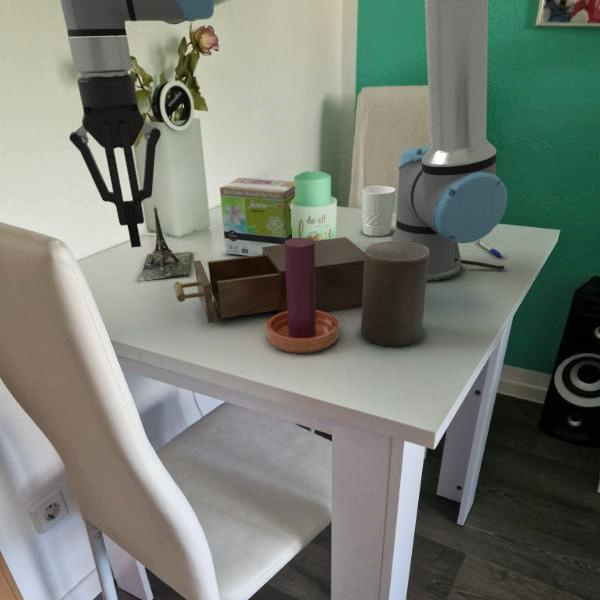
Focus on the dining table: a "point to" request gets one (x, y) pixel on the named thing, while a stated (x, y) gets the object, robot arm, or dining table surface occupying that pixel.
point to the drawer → (235, 286)
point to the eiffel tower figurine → (164, 259)
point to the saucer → (324, 338)
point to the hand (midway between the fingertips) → (136, 244)
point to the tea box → (256, 214)
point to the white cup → (377, 210)
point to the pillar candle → (394, 292)
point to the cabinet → (327, 273)
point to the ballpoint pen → (490, 249)
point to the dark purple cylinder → (300, 287)
